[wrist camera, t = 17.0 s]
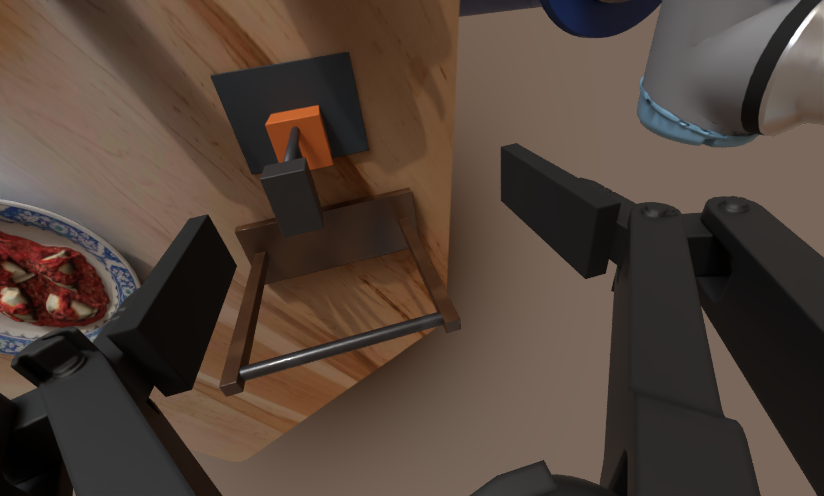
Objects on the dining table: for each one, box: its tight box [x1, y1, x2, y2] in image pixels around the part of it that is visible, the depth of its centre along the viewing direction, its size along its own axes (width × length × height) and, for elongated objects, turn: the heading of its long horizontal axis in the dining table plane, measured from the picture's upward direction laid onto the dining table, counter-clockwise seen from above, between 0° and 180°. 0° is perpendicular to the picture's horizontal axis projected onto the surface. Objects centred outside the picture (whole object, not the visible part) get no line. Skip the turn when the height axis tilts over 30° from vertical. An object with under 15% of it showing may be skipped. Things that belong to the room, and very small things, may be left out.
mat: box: [211, 52, 369, 175], centre depth 43 cm, size 16×12×1 cm
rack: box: [219, 188, 461, 396], centre depth 43 cm, size 26×10×24 cm, turn 98°
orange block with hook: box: [260, 105, 333, 238], centre depth 35 cm, size 6×6×22 cm
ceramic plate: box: [0, 200, 141, 356], centre depth 45 cm, size 26×26×3 cm
